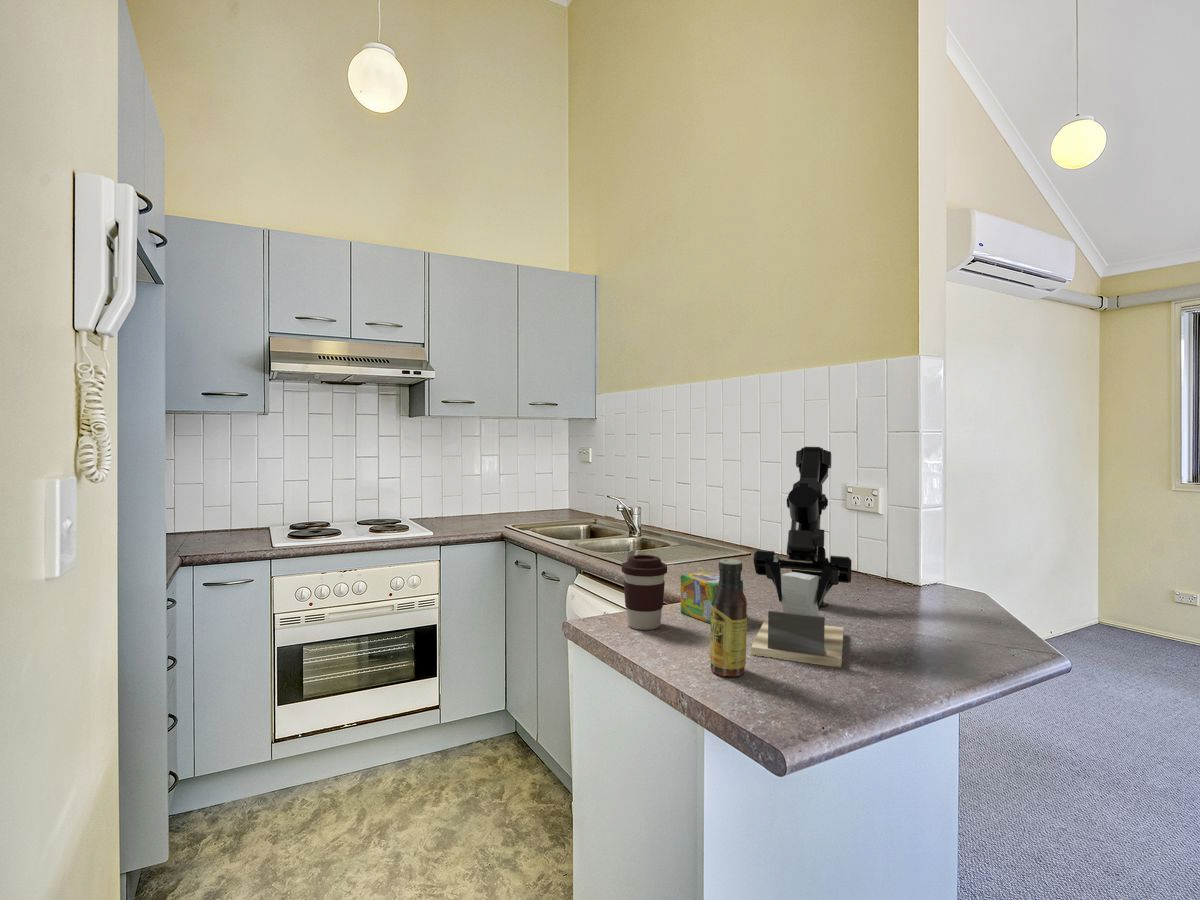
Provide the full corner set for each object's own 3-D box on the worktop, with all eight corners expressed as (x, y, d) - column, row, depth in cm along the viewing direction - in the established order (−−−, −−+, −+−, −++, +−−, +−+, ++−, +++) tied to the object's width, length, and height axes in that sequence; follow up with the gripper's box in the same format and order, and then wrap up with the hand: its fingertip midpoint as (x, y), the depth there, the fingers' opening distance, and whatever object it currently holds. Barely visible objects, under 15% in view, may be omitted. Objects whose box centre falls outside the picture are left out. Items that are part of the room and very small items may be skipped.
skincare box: (818, 636, 121) (819, 575, 121) (809, 641, 118) (810, 579, 118) (789, 629, 125) (790, 570, 125) (779, 634, 122) (780, 574, 122)
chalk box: (679, 574, 144) (724, 587, 131) (708, 570, 149) (754, 582, 136) (679, 614, 144) (724, 630, 132) (708, 608, 149) (754, 623, 136)
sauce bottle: (705, 665, 111) (706, 556, 111) (739, 664, 112) (740, 556, 111) (715, 680, 105) (716, 564, 104) (751, 679, 105) (752, 564, 105)
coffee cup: (653, 635, 128) (654, 564, 127) (612, 627, 133) (613, 558, 133) (674, 623, 136) (674, 556, 136) (634, 616, 141) (635, 551, 141)
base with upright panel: (765, 624, 136) (765, 586, 135) (843, 634, 129) (844, 594, 129) (751, 654, 117) (751, 610, 117) (841, 667, 111) (842, 621, 111)
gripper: (755, 511, 128) (746, 575, 118) (852, 516, 121) (850, 585, 111) (760, 542, 135) (751, 605, 126) (851, 549, 128) (850, 616, 119)
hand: (798, 602), depth 120 cm, fingers closed on skincare box, 7 cm apart
